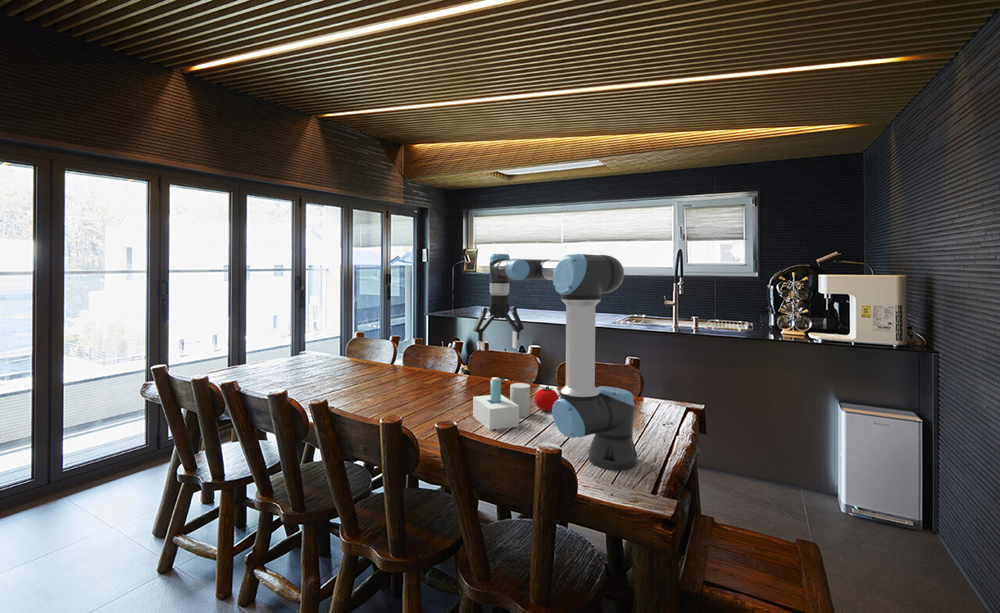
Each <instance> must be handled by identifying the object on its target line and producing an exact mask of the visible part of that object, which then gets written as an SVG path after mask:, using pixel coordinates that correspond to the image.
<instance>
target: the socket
mask: <svg viewBox="0 0 1000 613" xmlns="http://www.w3.org/2000/svg"><path fill="white" fill-rule="evenodd" d="M472 416H473V418H474V419H476V420H477V421H478V422H479V423H480V424H482V425H483V426H484V427H485V428H486V429H487V428H488V430H489V431H494V430H493V429H496V430H502V429H501V428H503V429H509V428H515V427H516V428H518V427H520V417H519V405H517V404H515V403H514V402H512V401H511V400H510V398H507V397H506V396H504V395H503V394H501V403H495V404H491V394H487V395H478V396H473V398H472Z"/></svg>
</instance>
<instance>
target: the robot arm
mask: <svg viewBox="0 0 1000 613" xmlns="http://www.w3.org/2000/svg"><path fill="white" fill-rule="evenodd" d="M510 257H511V256H510V255H509V253H492V254H491V255H490V257H489V294H490V295H489V307H485V306H482V307H481V312H480V314H479V316H478V319H477V320H476V323H475V324H474V327H473V329H472V330H473V331H474V332H476V333H477V341H478V342H480V347H479V351H480V350H481V351H483V352H484V351H485V349H486V347H485V345H486V343H485V342H486V336H485V335H486V334H485V331H486V329H487V328H488V326H489V325H491V323H492V321H494V319H495V320H499V319H505V320H506V322H507V323H508V324H509V325H510V327H511V328H512V329H513V330H512V339H511V341H512V344H511V345H512V348H513V349H515V350H516V349H518V340H520V332H521V331H524V329H525V327H524V325H523V322H522V321H521V318H520V316H519V314H518V310H517V306H510V295H509V294H510V280H513V281H522V280H527V281H528V280H538V281H539V280H544V281H552V282H553V283H552V285H553V286H554V289H555V291H556V293H558V294H560V300H561V302H562V303H563V304H564V305H565V307H566V308H565V385H564V386H563V387H562V388H561V389H560V395H559V399H558V400H556V401H555V402H554V404H553V407H552V410H551V411H552V412H551V413H552V419H553V422H554V424H555V427H556V428H557V430H558V431H559V433H560V434H562V435H563V436H564V437H567V438H569V439H572V438H583V437H587V436H591V435H594V436H593V439H592V441H591V445H590V448H589V450H588V456H587V457H588V458H587V459H588V461H589V462H590V463H591V464H592V465H595V466H597V467H599V468H602V469H605V470H606V469H607V470H611V471H612V470H614V471H615V470H616V471H625V470H626V471H627V470H630V469H633V468H635V467H637V465H638V453H637V449H636V447H635V443H634V439H633V438H634V437H633V435H634V433H633V431H634V430H633V429H634V413H635V402H634V400H635V399H634V394H633V393H632V392H631V391H629V390H627V389H625V388H623V389H622V388H621V387H620V388H619V387H615V386H606V385H603V386H602V385H600V386H597V387H596V384H595V382H596V380H595V379H596V377H595V376H596V375H595V374H596V372H595V371H596V370H595V369H596V306H597V305H598V304H599V303H600V302H601V301H602V300H601V299H602V296H601V294H608V293H612V292H613V291H615V290H617V289H618V288H619V287H620V286H621V285H622V283H623V281H624V278H625V272H624V267H623V264H622V263H621V261H619V259H617V258H615V257H614V256H612V255H607V254H586V253H576V254H566V255H564V256H563V257H561V258H560V259H533V258H532V259H529V258H527V259H526V258H524V259H523V258H510ZM488 312H489V315H488V316H487V314H488ZM509 312H511V314H512V317H513V319H512V317H511V316H510V315H509ZM486 316H487V318H486ZM485 318H486V319H485ZM484 320H485V321H484Z"/></svg>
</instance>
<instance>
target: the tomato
mask: <svg viewBox="0 0 1000 613" xmlns="http://www.w3.org/2000/svg"><path fill="white" fill-rule="evenodd" d="M558 399H560V395H559V394H558V393H557V392H556V390H554V387H551V388H550V386H549V385H548V386H545V387H542V386H540V389H538V390H537V391H536V393H535V394H534V404H535V405H536V406H537V408H538V409H539V410H541V411H547V412H548V411H552V407H553V404H554V402H555V401H556V400H558Z"/></svg>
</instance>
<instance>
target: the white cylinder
mask: <svg viewBox="0 0 1000 613" xmlns="http://www.w3.org/2000/svg"><path fill="white" fill-rule="evenodd" d="M509 387H510V389H509V395H510V396H509V400H511V401H512V402H514V403H515V404H517V405H519V418H526V417H529V416H530V414H531V413H530V412H531V410H530V408H531V406H530V404H531V385H530V384H529V383H525V382H524V383H523V382H516V383H511V384H510V386H509Z"/></svg>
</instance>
